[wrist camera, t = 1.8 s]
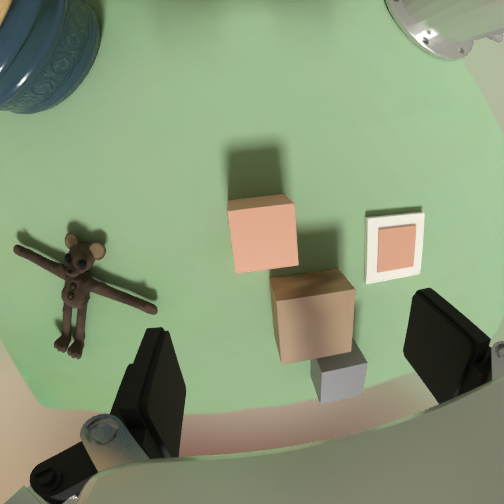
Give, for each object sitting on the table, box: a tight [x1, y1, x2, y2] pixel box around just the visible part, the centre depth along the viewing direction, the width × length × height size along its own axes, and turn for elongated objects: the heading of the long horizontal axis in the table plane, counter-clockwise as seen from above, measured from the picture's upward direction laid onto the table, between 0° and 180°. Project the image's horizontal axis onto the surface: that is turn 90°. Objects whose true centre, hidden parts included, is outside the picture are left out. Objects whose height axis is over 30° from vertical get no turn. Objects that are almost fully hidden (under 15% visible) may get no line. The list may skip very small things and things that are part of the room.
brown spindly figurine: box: [13, 232, 158, 359], centre depth 28 cm, size 18×4×14 cm
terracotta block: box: [228, 194, 299, 273], centre depth 26 cm, size 5×5×5 cm
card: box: [364, 212, 424, 284], centre depth 29 cm, size 7×7×1 cm
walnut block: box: [269, 268, 355, 364], centre depth 29 cm, size 7×7×5 cm
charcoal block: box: [311, 337, 368, 404], centre depth 32 cm, size 5×5×5 cm
